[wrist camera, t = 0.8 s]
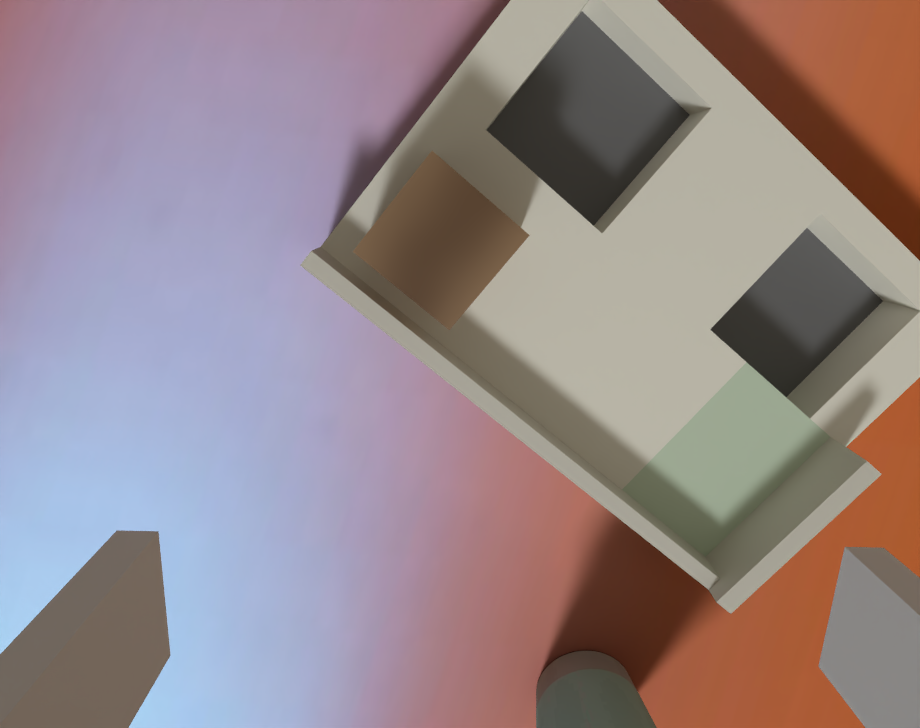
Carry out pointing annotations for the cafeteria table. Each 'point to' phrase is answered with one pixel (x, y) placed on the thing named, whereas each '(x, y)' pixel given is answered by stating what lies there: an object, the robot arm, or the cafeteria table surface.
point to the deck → (656, 286)
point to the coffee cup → (588, 694)
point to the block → (440, 241)
